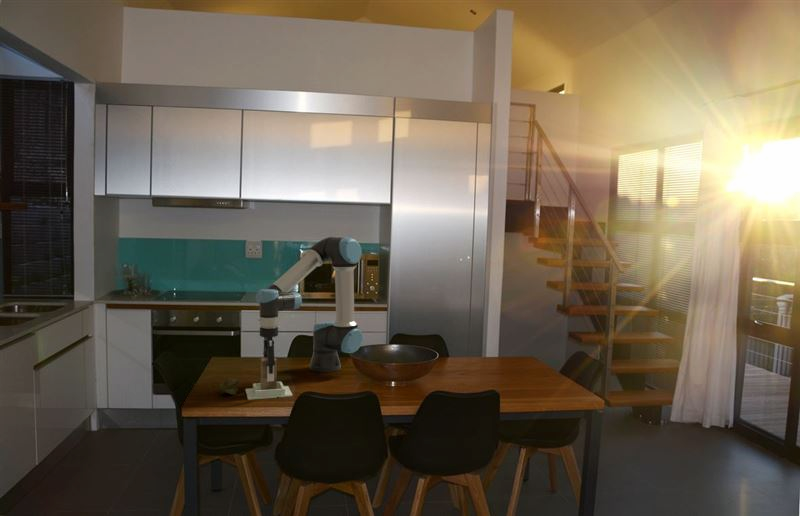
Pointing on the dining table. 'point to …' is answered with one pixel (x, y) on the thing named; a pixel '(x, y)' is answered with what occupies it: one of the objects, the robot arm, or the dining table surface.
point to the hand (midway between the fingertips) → (268, 376)
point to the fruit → (229, 386)
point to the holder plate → (268, 392)
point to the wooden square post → (264, 383)
